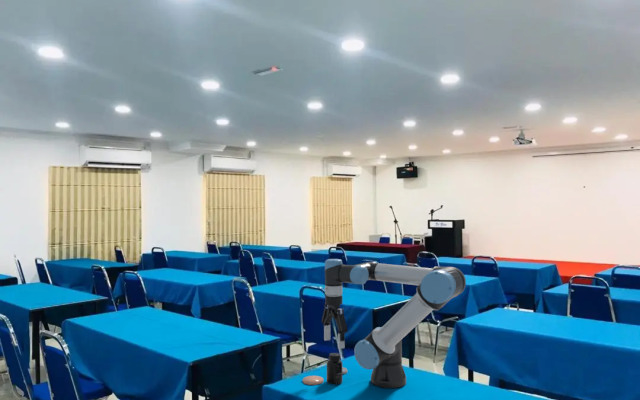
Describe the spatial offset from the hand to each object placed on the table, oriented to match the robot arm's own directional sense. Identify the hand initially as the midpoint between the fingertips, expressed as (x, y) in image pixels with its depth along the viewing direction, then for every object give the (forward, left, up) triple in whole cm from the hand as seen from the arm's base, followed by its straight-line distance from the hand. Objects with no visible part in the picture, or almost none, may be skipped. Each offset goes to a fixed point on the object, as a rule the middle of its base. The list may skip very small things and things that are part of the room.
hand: (334, 344), depth 211 cm
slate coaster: (+11, -7, -16) cm, 21 cm away
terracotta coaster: (+5, +8, -16) cm, 19 cm away
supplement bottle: (0, 0, -17) cm, 17 cm away
